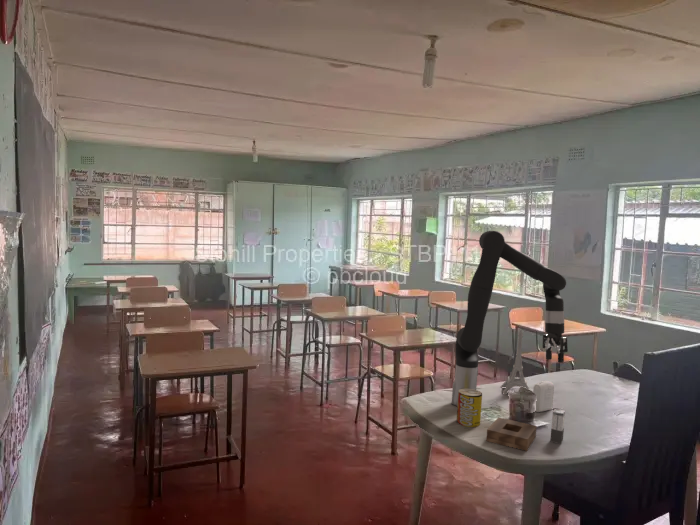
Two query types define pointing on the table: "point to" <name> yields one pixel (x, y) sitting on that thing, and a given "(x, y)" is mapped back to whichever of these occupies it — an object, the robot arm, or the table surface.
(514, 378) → the eiffel tower
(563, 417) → the white grey tall block
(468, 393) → the yellow tin can
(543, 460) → the table surface
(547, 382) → the white rounded slab
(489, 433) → the stand
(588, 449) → the table surface
